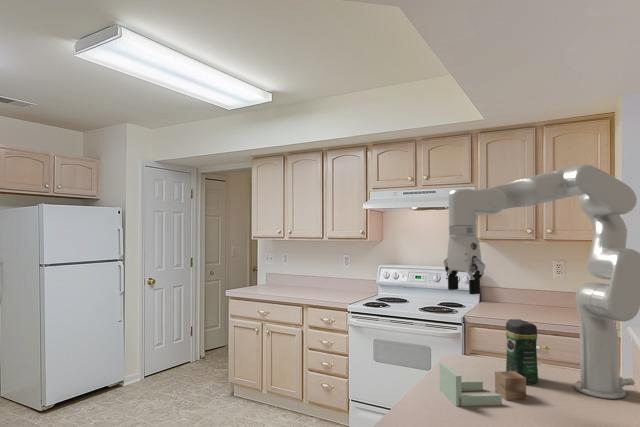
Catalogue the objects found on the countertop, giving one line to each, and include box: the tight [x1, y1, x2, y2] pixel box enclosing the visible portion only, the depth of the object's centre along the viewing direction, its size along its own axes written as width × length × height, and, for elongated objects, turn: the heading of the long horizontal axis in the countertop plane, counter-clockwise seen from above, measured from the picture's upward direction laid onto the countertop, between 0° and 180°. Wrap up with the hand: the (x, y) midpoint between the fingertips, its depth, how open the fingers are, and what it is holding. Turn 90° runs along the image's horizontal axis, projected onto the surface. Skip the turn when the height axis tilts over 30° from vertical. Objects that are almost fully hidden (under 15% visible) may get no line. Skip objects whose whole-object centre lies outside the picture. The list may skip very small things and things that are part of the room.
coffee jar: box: [505, 318, 539, 385], centre depth 141 cm, size 10×8×19 cm
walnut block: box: [494, 371, 527, 401], centre depth 127 cm, size 6×6×6 cm
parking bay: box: [439, 362, 503, 407], centre depth 125 cm, size 13×12×8 cm
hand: (463, 291), depth 127 cm, fingers open, 9 cm apart
